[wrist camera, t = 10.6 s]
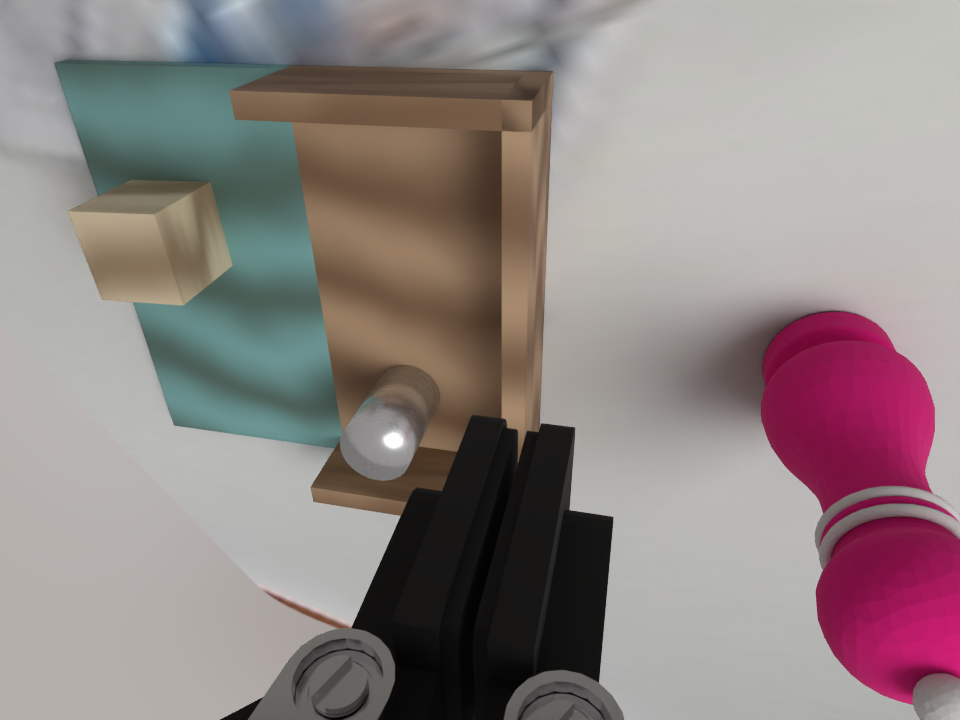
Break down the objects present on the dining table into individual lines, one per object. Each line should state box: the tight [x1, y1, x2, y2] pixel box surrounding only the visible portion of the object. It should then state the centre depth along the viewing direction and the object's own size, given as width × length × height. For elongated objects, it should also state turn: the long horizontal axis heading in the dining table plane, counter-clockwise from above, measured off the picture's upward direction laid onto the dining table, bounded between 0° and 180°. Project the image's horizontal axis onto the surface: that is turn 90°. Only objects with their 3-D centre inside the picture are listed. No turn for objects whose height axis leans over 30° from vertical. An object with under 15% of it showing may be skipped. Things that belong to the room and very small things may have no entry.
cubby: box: [54, 60, 553, 516], centre depth 38 cm, size 24×26×6 cm
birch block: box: [68, 180, 233, 305], centre depth 37 cm, size 5×5×5 cm
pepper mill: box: [761, 312, 960, 720], centre depth 28 cm, size 7×7×20 cm
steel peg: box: [340, 365, 440, 481], centre depth 39 cm, size 4×4×6 cm
